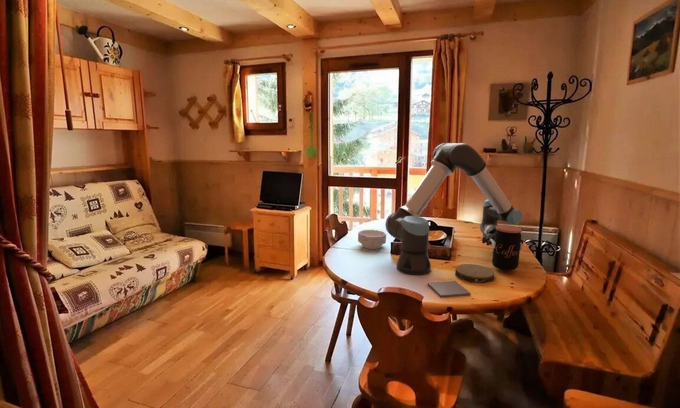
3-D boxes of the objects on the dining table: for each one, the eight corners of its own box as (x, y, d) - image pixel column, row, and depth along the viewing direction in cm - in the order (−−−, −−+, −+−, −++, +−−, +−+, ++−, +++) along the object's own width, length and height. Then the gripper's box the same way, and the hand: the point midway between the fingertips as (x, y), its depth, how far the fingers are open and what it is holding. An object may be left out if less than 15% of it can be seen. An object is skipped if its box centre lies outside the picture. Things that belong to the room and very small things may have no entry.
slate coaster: (440, 297, 134) (440, 295, 133) (427, 285, 145) (427, 282, 145) (470, 295, 136) (470, 293, 135) (455, 283, 147) (455, 280, 147)
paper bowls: (391, 249, 192) (391, 235, 190) (365, 252, 186) (365, 237, 185) (377, 241, 206) (378, 228, 204) (353, 244, 200) (353, 230, 199)
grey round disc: (452, 269, 164) (453, 262, 164) (489, 271, 162) (489, 265, 161) (457, 282, 149) (458, 275, 148) (498, 285, 146) (499, 278, 146)
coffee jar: (490, 268, 159) (494, 228, 156) (492, 261, 169) (496, 224, 165) (517, 272, 154) (521, 232, 151) (518, 265, 164) (522, 227, 160)
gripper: (517, 242, 179) (534, 256, 157) (469, 239, 182) (479, 252, 160) (519, 227, 177) (536, 239, 156) (470, 225, 181) (481, 236, 159)
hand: (507, 246), depth 158 cm, fingers closed on coffee jar, 11 cm apart
